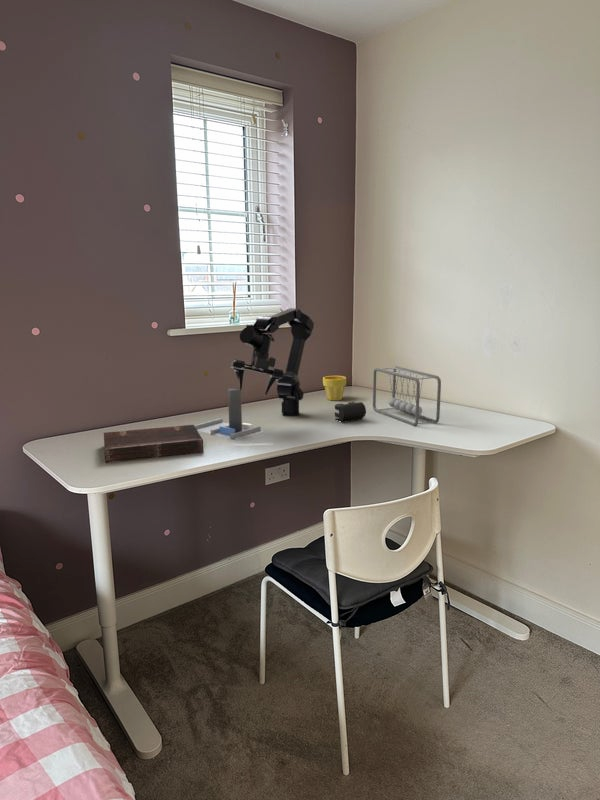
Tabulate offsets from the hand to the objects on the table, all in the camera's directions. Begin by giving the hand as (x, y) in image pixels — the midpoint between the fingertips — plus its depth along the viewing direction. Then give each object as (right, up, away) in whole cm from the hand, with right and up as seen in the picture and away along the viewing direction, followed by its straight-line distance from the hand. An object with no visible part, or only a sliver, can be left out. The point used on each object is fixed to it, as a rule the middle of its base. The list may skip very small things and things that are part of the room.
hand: (252, 392), depth 204 cm
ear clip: (-2, -13, -1) cm, 13 cm away
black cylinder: (+36, -11, +12) cm, 39 cm away
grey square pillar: (-6, -14, -5) cm, 15 cm away
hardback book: (-30, -19, -22) cm, 42 cm away
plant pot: (+32, -2, +50) cm, 60 cm away
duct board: (-9, -14, -2) cm, 17 cm away
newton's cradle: (+57, -9, +17) cm, 61 cm away
